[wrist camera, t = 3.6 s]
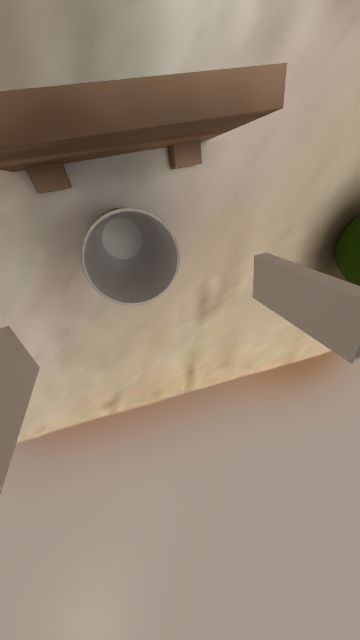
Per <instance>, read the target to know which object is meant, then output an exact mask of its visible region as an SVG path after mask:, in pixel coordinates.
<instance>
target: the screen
mask: <svg viewBox="0 0 360 640" xmlns="http://www.w3.org/2000/svg"><path fill="white" fill-rule="evenodd" d="M286 67H287V63H281V64H271V65H261V66H251V67H241V68H231V69H221V70H211V71H201V72H191V73H181V74H171V75H161V76H151V77H141V78H131V79H121V80H111V81H101V82H91V83H81V84H71V85H61V86H51V87H41V88H31V89H21V90H11V91H1V92H0V170H6V171H11V172H16V171H22V170H27V171H28V173H29V176H30V178H31V180H32V182H33V184H34V187H35V189H36V191H37V193H44V192H50V191H55V190H61V189H66V188H71V185H70V182H69V179H68V177H67V174H66V171H65V169H64V166H63V164H65V163H71V162H77V161H83V160H89V159H95V158H101V157H107V156H114V155H120V154H126V153H132V152H138V151H144V150H150V149H156V148H163V147H169V151H170V158H171V165H172V169H175V168H180V167H186V166H191V165H196V164H201V163H202V159H201V147H200V141H205V140H209V139H211V138H214V137H216V136H218V135H221V134H223V133H225V132H228V131H230V130H232V129H235V128H237V127H239V126H242V125H244V124H246V123H249V122H251V121H254V120H256V119H258V118H261V117H263V116H265V115H268V114H270V113H272V112H275V111H277V110H279V109H282V108H283V102H284V90H285V78H286Z"/></svg>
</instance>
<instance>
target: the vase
mask: <svg viewBox="0 0 360 640" xmlns="http://www.w3.org/2000/svg"><path fill="white" fill-rule="evenodd" d="M335 256H336V260H337V264H338V267H339V269H340V271H341V272H342V274H343V275H344V277H345V279H346V280H347V282H350V283H352V284H355V285H358V286H360V216H358V217H357V218H355V219H354V220H353V221H351V222H350V224H349V225H348V226H347V227H346V228H345V230H344V231H343V232H342V234H341V236H340V238H339V240H338V243H337V246H336V251H335Z"/></svg>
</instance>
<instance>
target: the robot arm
mask: <svg viewBox="0 0 360 640" xmlns="http://www.w3.org/2000/svg"><path fill="white" fill-rule="evenodd" d="M253 298H254V299H256V300H257V301H259V302H260V303H262V304H263V305H265V306H266V307H268V308H269V309H271V310H272V311H274V312H275V313H277V314H278V315H280V316H281V317H283V318H284V319H286V320H287V321H289V322H290V323H292V324H293V325H295V326H296V327H298V328H299V329H301V330H302V331H304V332H305V333H307V334H308V335H310V336H311V337H313V338H314V339H316V340H317V341H319V342H320V343H322V344H323V345H325V346H326V347H327V348H329V349H330V350H332V351H334V352H335V353H337V354H338V355H340V356H341V357H342V358H344V359H345V360H347V361H348V362H350V363H352V364H354V363H356V362H358V361H360V286H358V285H355V284H352V283H350V282H347V281H344V280H341V279H338V278H336V277H333V276H330V275H327V274H324V273H322V272H319V271H316V270H313V269H310V268H308V267H305V266H302V265H299V264H297V263H294V262H291V261H288V260H285V259H283V258H280V257H277V256H274V255H271V254H269V253H266V252H265V253H262V254H258V255H255V256H254V279H253ZM39 368H40V367H39V366H38V365H37V363H36V362H35V361H34V359H33V358H32V357H31V355H30V354H29V353H28V351H27V350H26V348H25V347H24V346H23V344H22V343H21V342H20V340H19V339H18V338H17V336H16V335H15V334H14V332H13V331H12V330H11V328H10V327H9V326H7V327H4V328H0V494H1V490H2V487H3V484H4V481H5V477H6V474H7V471H8V468H9V464H10V461H11V458H12V455H13V452H14V448H15V445H16V442H17V439H18V436H19V432H20V429H21V426H22V423H23V419H24V416H25V413H26V410H27V407H28V403H29V400H30V397H31V394H32V390H33V387H34V384H35V381H36V377H37V374H38V371H39Z"/></svg>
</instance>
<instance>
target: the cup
mask: <svg viewBox="0 0 360 640" xmlns="http://www.w3.org/2000/svg"><path fill="white" fill-rule="evenodd" d="M81 259H82V266H83V270H84V273H85V275H86V277H87V279H88V281H89V282H90V284H91V285H92V286H93V288H94V289H95V290H96V291H97V292H98V293H100V294H101V295H102V296H104V297H105V298H107V299H109V300H111V301H113V302H116V303H119V304H123V305H140V304H145V303H148V302H151V301H153V300H155V299H157V298H158V297H160V296H161V295H162V294H164V293H165V292H166V291H167V290H168V288H169V287H170V286H171V285H172V283H173V281H174V280H175V277H176V275H177V272H178V268H179V262H180V254H179V247H178V244H177V241H176V238H175V236H174V234H173V233H172V231H171V230H170V228H169V227H168V226H167V225H166V224H165V223H164V222H163V221H162V220H161V219H160V218H158V217H157V216H155V215H154V214H152V213H150V212H147V211H144V210H141V209H135V208H116V209H112V210H110V211H107V212H106V213H104V214H102V215H101V216H100V217H99V218H98V219H97V220H96V221H95V222H94V223H93V225H92V226H91V227H90V229H89V230H88V232H87V234H86V236H85V238H84V241H83V245H82V252H81Z"/></svg>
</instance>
